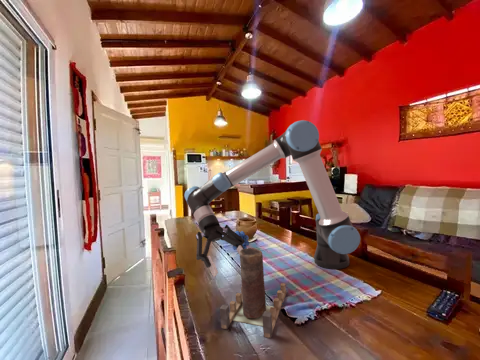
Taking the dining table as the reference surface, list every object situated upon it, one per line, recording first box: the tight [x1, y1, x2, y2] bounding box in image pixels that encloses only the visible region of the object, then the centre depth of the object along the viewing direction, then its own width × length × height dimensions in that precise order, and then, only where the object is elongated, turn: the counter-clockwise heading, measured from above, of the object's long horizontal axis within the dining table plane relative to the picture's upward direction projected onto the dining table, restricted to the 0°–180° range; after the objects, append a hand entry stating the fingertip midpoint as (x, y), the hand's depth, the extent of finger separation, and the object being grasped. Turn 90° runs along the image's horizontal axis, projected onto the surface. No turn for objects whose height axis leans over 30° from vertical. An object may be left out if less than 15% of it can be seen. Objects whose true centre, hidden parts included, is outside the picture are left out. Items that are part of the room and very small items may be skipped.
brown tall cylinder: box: [239, 247, 267, 318], centre depth 76 cm, size 8×7×20 cm
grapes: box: [232, 230, 250, 251], centre depth 132 cm, size 12×7×12 cm, turn 119°
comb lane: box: [219, 282, 288, 339], centre depth 80 cm, size 15×24×6 cm, turn 158°
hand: (232, 268), depth 85 cm, fingers open, 13 cm apart
